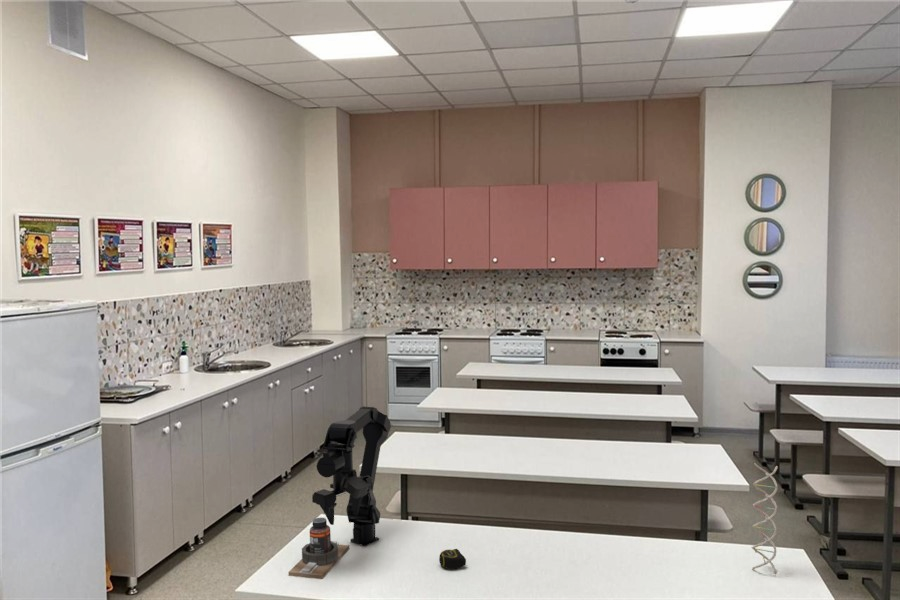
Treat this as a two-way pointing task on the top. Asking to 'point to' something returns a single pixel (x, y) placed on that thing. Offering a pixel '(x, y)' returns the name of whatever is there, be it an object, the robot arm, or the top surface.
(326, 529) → the supplement bottle
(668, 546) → the top surface
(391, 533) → the top surface
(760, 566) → the dna model
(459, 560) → the tape measure
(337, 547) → the clip holder
